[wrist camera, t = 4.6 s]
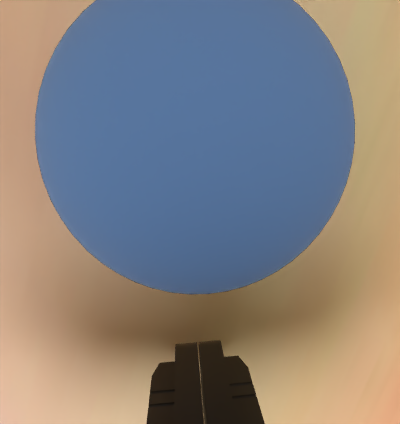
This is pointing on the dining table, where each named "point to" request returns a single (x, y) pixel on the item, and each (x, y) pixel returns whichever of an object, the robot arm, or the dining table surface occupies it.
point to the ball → (195, 138)
